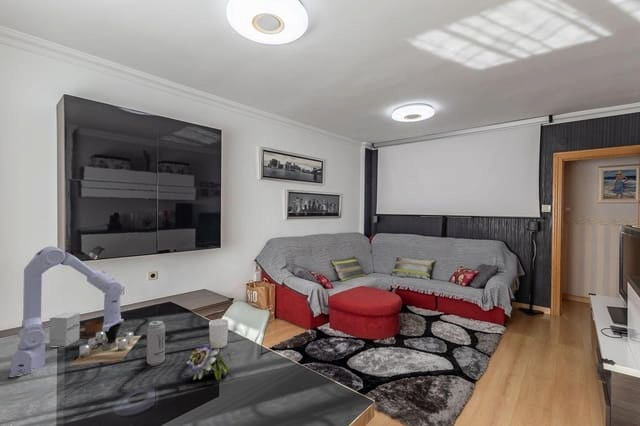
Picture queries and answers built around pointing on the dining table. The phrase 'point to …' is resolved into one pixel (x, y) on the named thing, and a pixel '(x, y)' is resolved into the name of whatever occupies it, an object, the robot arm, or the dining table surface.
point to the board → (106, 354)
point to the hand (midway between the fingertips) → (112, 342)
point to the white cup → (218, 332)
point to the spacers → (100, 337)
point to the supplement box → (64, 329)
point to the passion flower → (207, 361)
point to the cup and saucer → (91, 328)
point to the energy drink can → (155, 343)
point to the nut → (108, 345)
